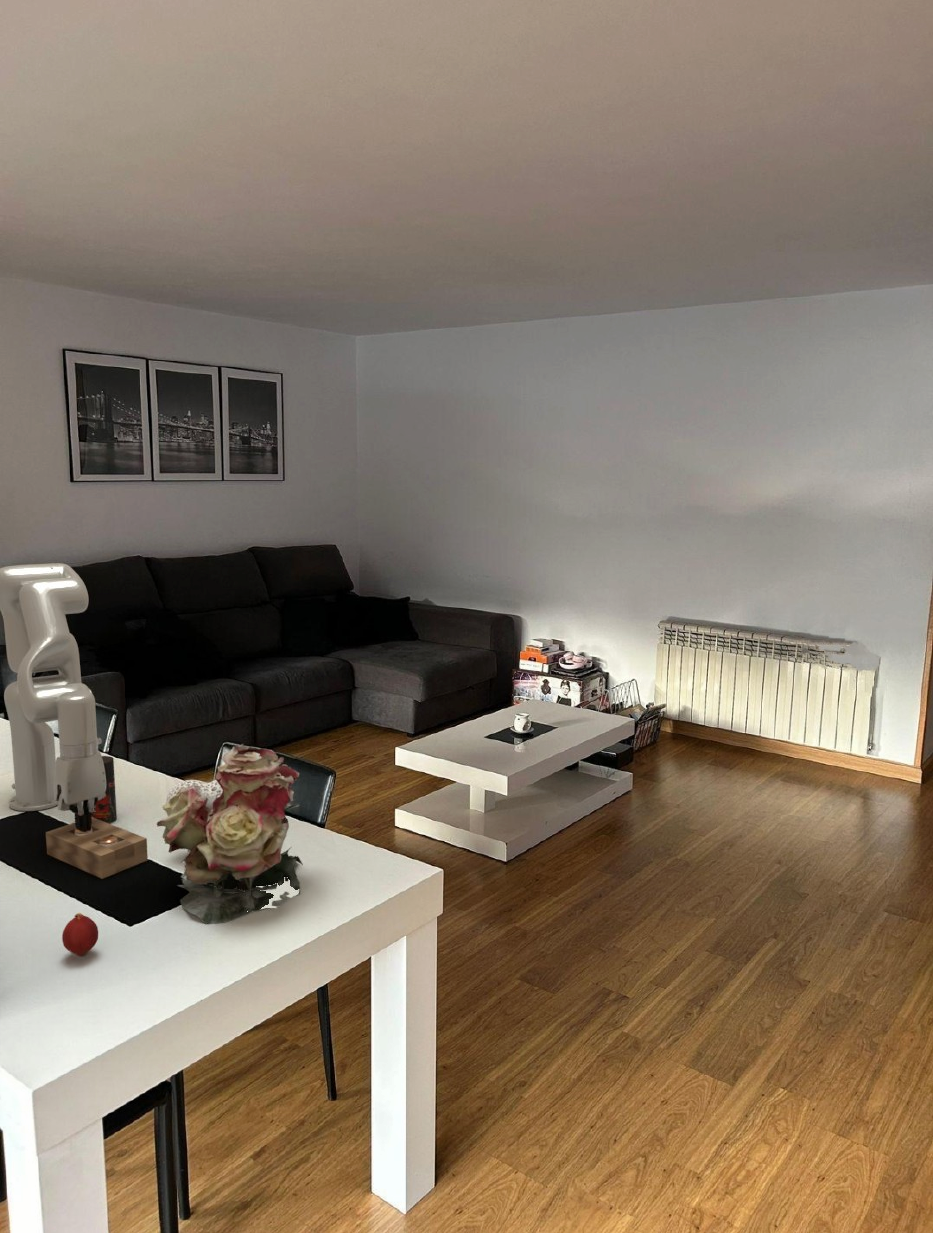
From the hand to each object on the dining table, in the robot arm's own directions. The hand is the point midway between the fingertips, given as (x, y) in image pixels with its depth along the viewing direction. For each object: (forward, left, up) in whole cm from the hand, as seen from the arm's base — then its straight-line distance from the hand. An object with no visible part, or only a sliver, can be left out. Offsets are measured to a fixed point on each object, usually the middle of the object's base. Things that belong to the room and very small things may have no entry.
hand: (83, 829), depth 201 cm
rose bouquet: (+41, +7, -6) cm, 42 cm away
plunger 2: (+9, 0, -5) cm, 10 cm away
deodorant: (-13, +13, -6) cm, 19 cm away
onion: (+37, -25, -6) cm, 45 cm away
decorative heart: (+22, +16, -6) cm, 28 cm away
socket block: (+4, 0, -5) cm, 7 cm away
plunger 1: (0, 0, -5) cm, 5 cm away
